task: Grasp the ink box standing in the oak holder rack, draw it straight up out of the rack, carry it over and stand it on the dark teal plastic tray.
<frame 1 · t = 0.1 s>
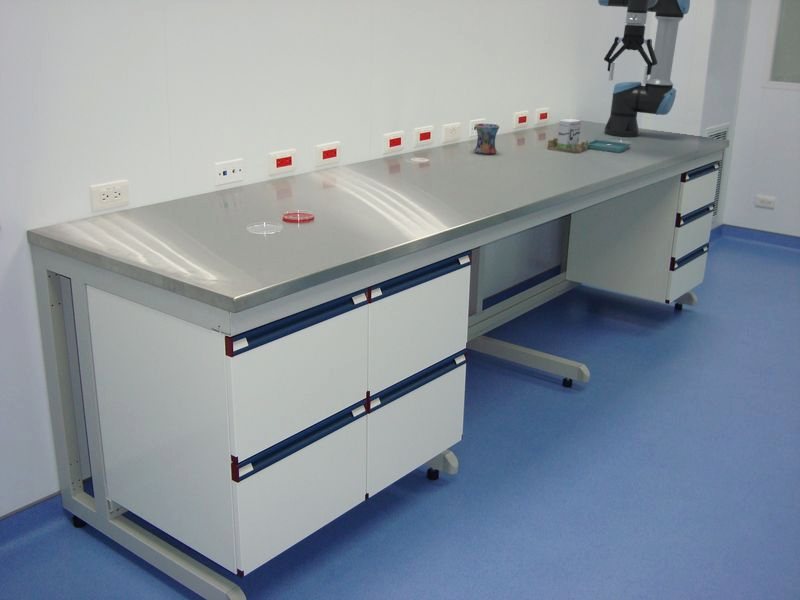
hand: (627, 82, 328), 28 cm above the table, fingers open, 13 cm apart
tray: (606, 148, 348), on the table
ink box: (567, 149, 342), resting in rack
rack: (567, 149, 342), on the table
mug: (486, 153, 328), on the table
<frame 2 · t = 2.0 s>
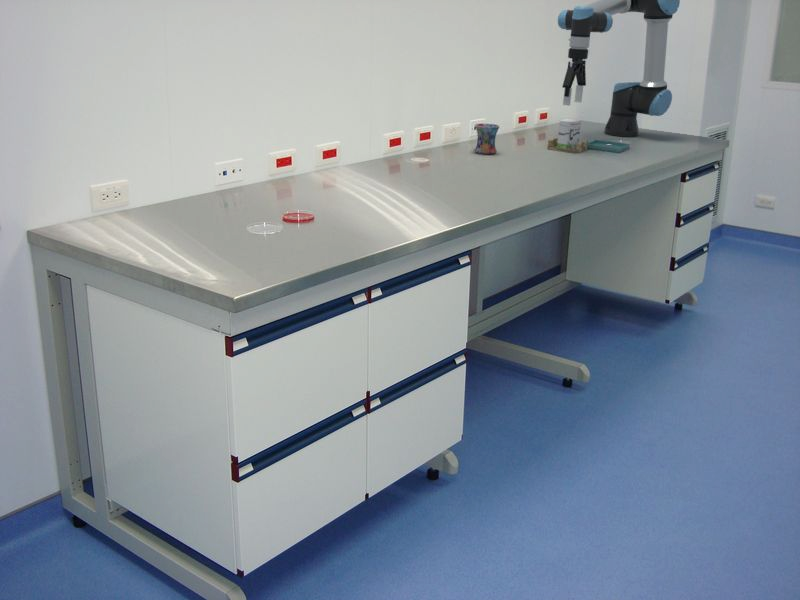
hand: (572, 103, 335), 18 cm above the table, fingers open, 13 cm apart
nothing on the table moved.
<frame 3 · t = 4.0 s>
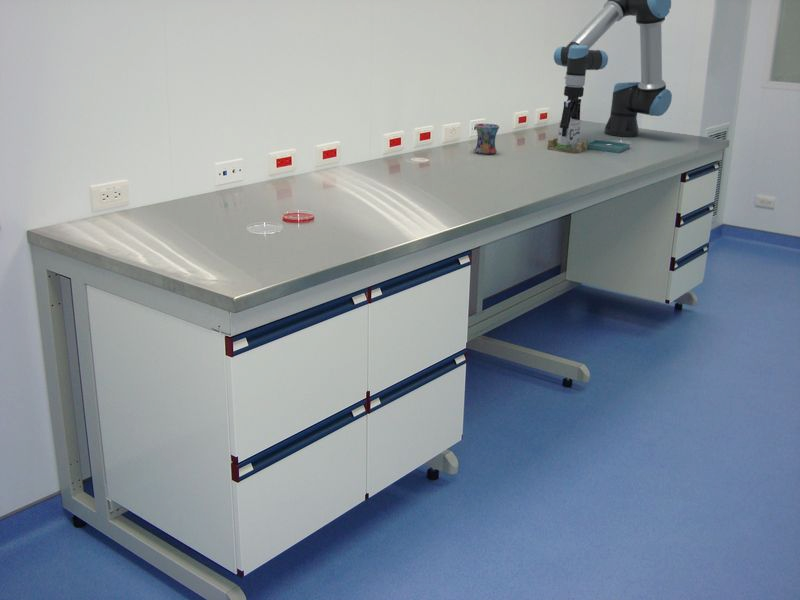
hand: (567, 142, 341), 3 cm above the table, fingers closed on ink box, 9 cm apart
ink box: (567, 149, 342), resting in rack, touching gripper
everything else where it was.
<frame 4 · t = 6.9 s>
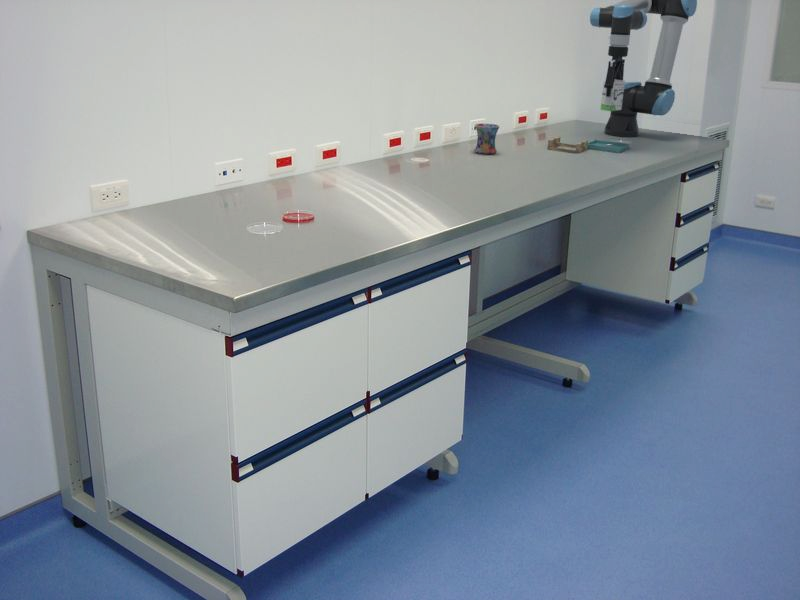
hand: (611, 103, 341), 18 cm above the table, fingers closed on ink box, 9 cm apart
ink box: (610, 110, 342), point 15 cm above the table, touching gripper
everything else where it was.
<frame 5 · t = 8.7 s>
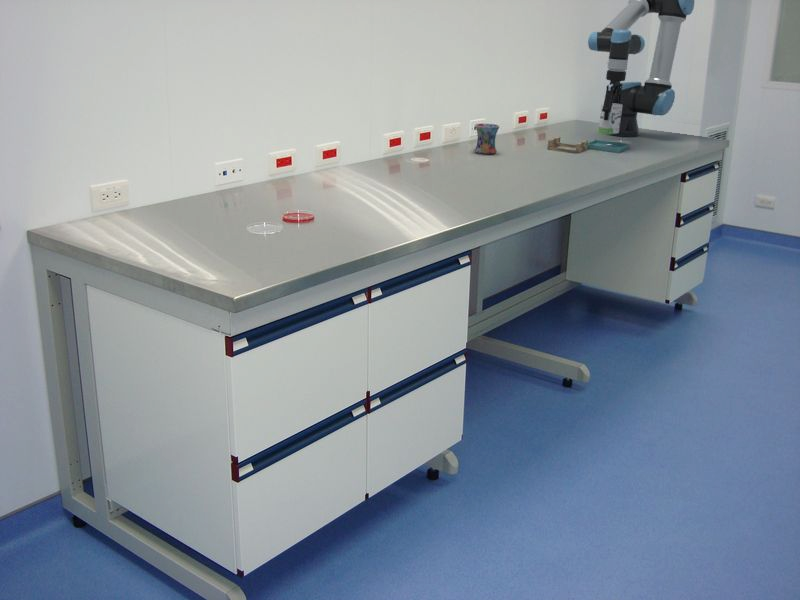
hand: (609, 126, 345), 9 cm above the table, fingers closed on ink box, 9 cm apart
ink box: (608, 133, 346), point 6 cm above the table, touching gripper
everything else where it was.
when the fingers open (5 cm above the table, at t = 10.0 s): ink box drops 2 cm, resting on tray.
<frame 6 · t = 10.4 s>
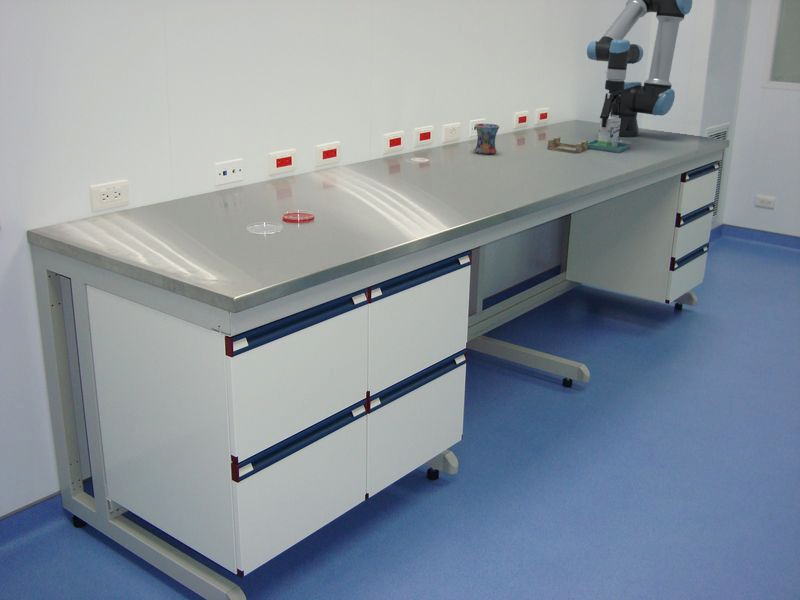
hand: (608, 133, 346), 6 cm above the table, fingers open, 13 cm apart
ink box: (607, 147, 348), resting on tray
everything else where it was.
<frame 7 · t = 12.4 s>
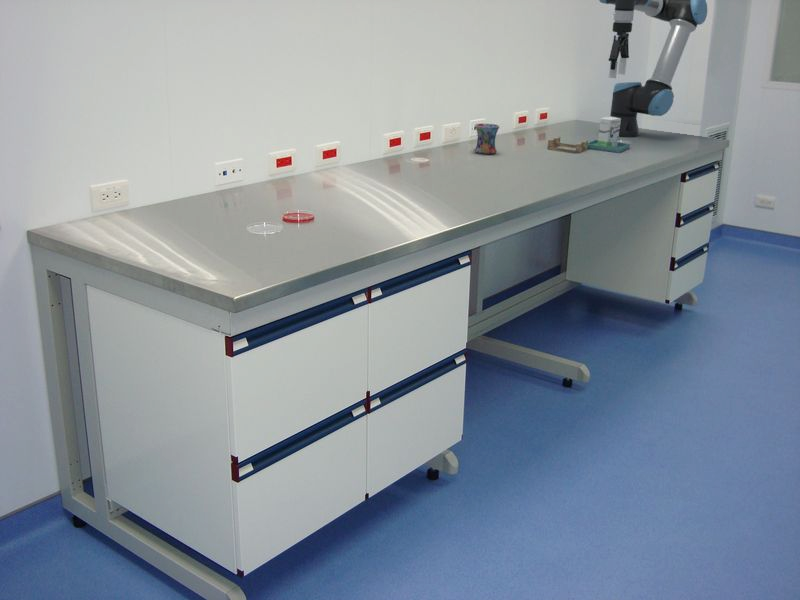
hand: (617, 76, 346), 28 cm above the table, fingers open, 13 cm apart
nothing on the table moved.
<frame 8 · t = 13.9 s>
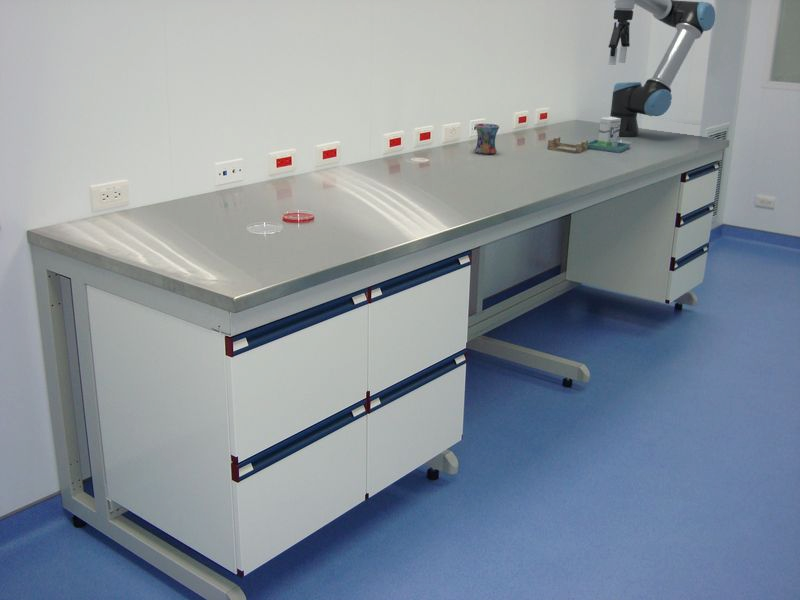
hand: (616, 63, 349), 33 cm above the table, fingers open, 13 cm apart
nothing on the table moved.
at the end: ink box inside the target area on the tray (0.4 cm from its centre), point 0.4 cm above the tray's base; ink box tilted 0°; the gripper is holding nothing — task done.
